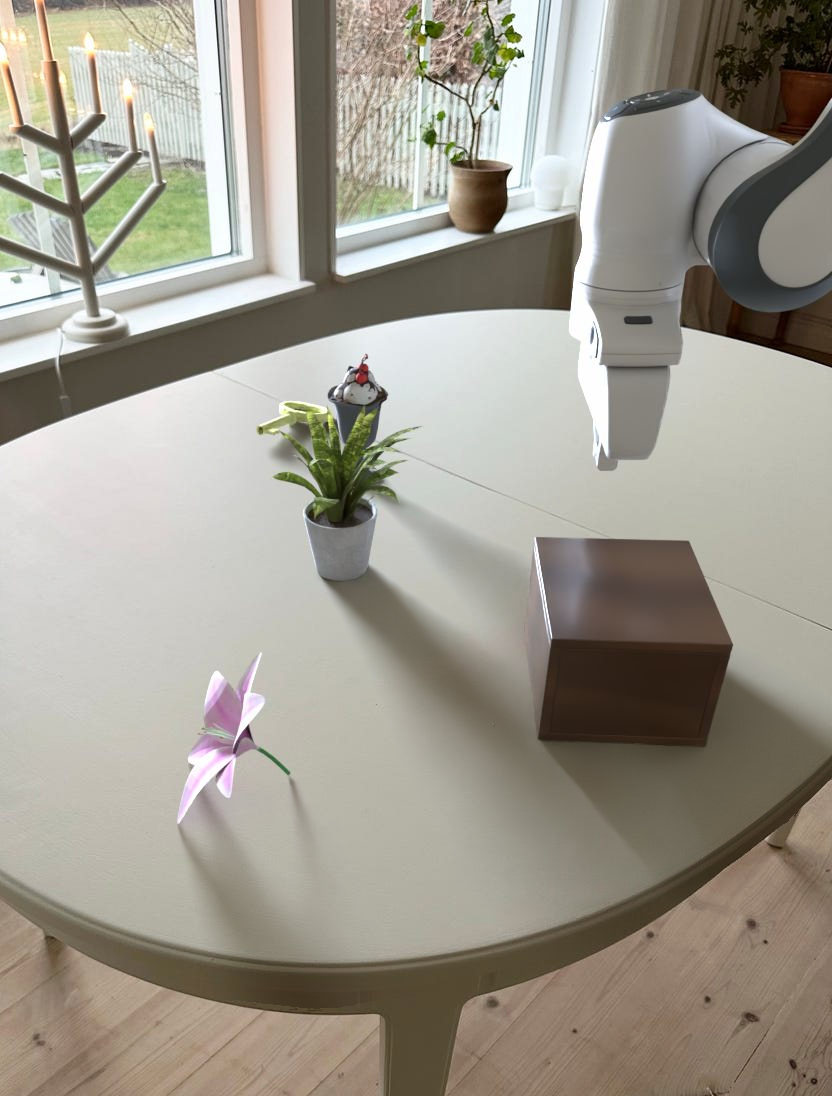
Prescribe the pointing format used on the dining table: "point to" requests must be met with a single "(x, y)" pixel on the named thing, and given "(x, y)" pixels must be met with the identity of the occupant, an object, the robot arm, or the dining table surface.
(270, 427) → the key
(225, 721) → the lily
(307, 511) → the house plant
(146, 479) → the dining table surface
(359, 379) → the sundae
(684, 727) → the cabinet
